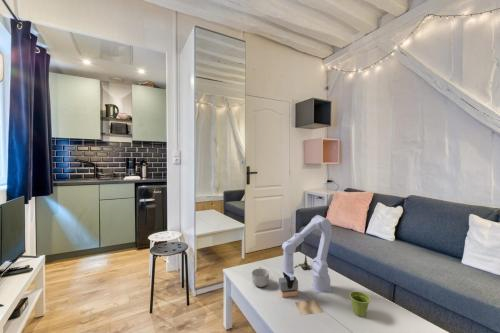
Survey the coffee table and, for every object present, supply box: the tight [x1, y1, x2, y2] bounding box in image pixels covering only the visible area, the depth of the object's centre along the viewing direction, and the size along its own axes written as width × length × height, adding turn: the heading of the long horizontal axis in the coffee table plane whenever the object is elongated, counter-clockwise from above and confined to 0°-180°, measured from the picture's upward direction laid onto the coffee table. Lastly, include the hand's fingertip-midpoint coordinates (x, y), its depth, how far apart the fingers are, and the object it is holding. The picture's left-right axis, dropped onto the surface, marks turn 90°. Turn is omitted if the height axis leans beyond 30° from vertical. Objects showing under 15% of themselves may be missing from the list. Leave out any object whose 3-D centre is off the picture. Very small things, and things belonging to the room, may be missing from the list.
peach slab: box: [279, 289, 299, 299], centre depth 132 cm, size 9×6×3 cm, turn 98°
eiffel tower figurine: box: [293, 251, 312, 271], centre depth 161 cm, size 15×10×13 cm
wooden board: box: [294, 299, 324, 316], centre depth 120 cm, size 12×10×1 cm
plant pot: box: [349, 290, 371, 318], centre depth 116 cm, size 9×9×9 cm
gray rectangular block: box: [278, 276, 299, 291], centre depth 132 cm, size 10×5×5 cm, turn 96°
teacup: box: [251, 266, 270, 288], centre depth 144 cm, size 14×11×8 cm
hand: (288, 285), depth 132 cm, fingers closed on gray rectangular block, 5 cm apart
